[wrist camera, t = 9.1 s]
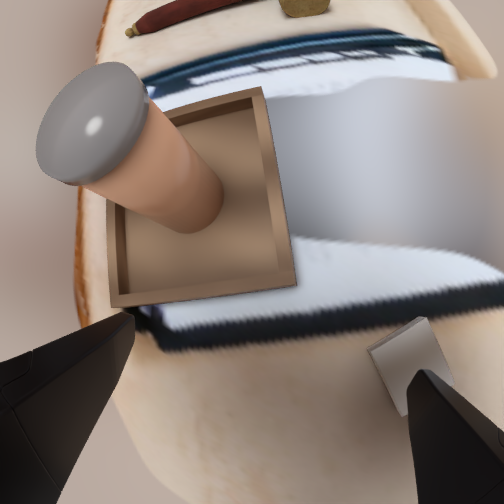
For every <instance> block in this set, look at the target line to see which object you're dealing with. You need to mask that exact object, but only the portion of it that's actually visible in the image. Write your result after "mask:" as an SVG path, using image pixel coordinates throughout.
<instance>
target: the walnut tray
mask: <svg viewBox="0 0 504 504" xmlns="http://www.w3.org/2000/svg"><path fill="white" fill-rule="evenodd" d="M163 113H164V115H165V116H166V117H167V118H168V119H169V120H170V121H171V123H172V124H173V125H174V126H175V127H176V128H177V129H178V131H179V132H180V133H181V134H182V135H183V136H184V137H185V139H186V140H187V141H188V142H189V143H190V144H191V146H192V147H193V148H194V149H195V150H196V151H197V153H198V154H199V155H200V156H201V157H202V158H203V159H204V161H205V162H206V163H207V164H208V165H209V166H210V168H211V169H212V170H213V171H214V172H215V174H216V175H217V176H218V177H219V179H220V181H221V183H222V185H223V190H224V200H223V205H222V208H221V210H220V212H219V214H218V216H217V217H216V219H215V220H214V221H213V222H212V223H211V224H210V225H209V226H207V227H206V228H204V229H203V230H201V231H198V232H195V233H190V234H183V233H178V232H175V231H173V230H171V229H169V228H167V227H165V226H163V225H161V224H159V223H156V222H154V221H152V220H150V219H148V218H146V217H144V216H142V215H140V214H138V213H136V212H134V211H132V210H129V209H127V208H125V207H123V206H121V205H119V204H117V203H115V202H113V201H111V200H109V199H107V198H106V229H107V259H108V276H109V290H110V302H111V308H128V307H138V306H147V305H156V304H165V303H173V302H181V301H190V300H198V299H206V298H213V297H221V296H228V295H236V294H243V293H250V292H257V291H264V290H271V289H278V288H285V287H291V286H297V282H296V275H295V268H294V262H293V255H292V248H291V242H290V236H289V229H288V223H287V217H286V212H285V205H284V199H283V193H282V187H281V181H280V176H279V170H278V164H277V159H276V153H275V148H274V142H273V137H272V132H271V127H270V122H269V116H268V112H267V106H266V101H265V98H264V94H263V91H262V88H261V86H260V87H256V88H251V89H246V90H242V91H238V92H233V93H229V94H225V95H221V96H217V97H213V98H210V99H206V100H202V101H199V102H195V103H192V104H188V105H185V106H181V107H178V108H175V109H172V110H168V111H165V112H163Z"/></svg>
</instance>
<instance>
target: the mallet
mask: <svg viewBox="0 0 504 504" xmlns="http://www.w3.org/2000/svg"><path fill="white" fill-rule="evenodd" d="M367 349H368V351H369V353H370V355H371V357H372V359H373V361H374V363H375V365H376V368H377V370H378V372H379V374H380V376H381V378H382V380H383V382H384V384H385V386H386V388H387V390H388V392H389V394H390V396H391V399H392V401H393V403H394V405H395V407H396V409H397V411H398V412H399V414H400V415H401V416H402V417H404V416H406V415H407V414H408V408H407V396H406V391H407V387H408V385H409V384H410V382H411V380H412V379H413V377H414V376H415V374H416V372H417V371H418V370H419V369H429V370H431V371H433V372H434V373H435V374H436V375H437V376H439V377H440V378H441V379H442V380H443V381H445V382H446V383H447V384H448V385H449V386H453V385H454V384H455V382H454V379H453V377H452V374H451V372H450V369H449V367H448V364H447V362H446V360H445V357H444V355H443V353H442V350H441V348H440V346H439V344H438V341H437V339H436V337H435V335H434V333H433V330H432V328H431V326H430V324H429V322H428V320H427V318H426V317H420V316H419V317H417V318H415V319H414V320H412V321H411V322H409V323H408V324H406V325H404V326H403V327H401V328H400V329H398V330H396V331H395V332H393V333H391V334H390V335H388V336H387V337H385V338H383V339H381V340H380V341H378V342H376V343H375V344H373V345H371V346H369V347H368V348H367Z"/></svg>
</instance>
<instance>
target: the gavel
mask: <svg viewBox="0 0 504 504" xmlns="http://www.w3.org/2000/svg"><path fill="white" fill-rule="evenodd" d="M239 1H242V0H176V1H173V2H171V3H168V4H166V5H163V6H161V7H159V8H157V9H154V10H152V11H150V12H148V13H146V14H145V15H144V16H142V17H141V18H140V19H139V20H138V21H137V22H136V23H134V24H133V25H132V28H128V29H127V30H126V31H125V34H126V36H132V35H133V34H134V33H135V34H137V35H139V34H142V33H149V32H155V31H157V30H160V29H162V28H164V27H167V26H169V25H172V24H174V23H177V22H179V21H182V20H185V19H187V18H190V17H193V16H195V15H198V14H201V13H204V12H207V11H210V10H213V9H216V8H219V7H222V6H225V5H228V4H232V3H235V2H239ZM279 2H280V5H281V7H282V9H283V11H284V12H285V13H286V14H288V15H290V16H292V17H307V16H314V15H318V14H321V13H322V12H324V11H325V10H326V9H327V7H328V5H329V3H330V0H279Z"/></svg>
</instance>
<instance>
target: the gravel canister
mask: <svg viewBox="0 0 504 504" xmlns="http://www.w3.org/2000/svg"><path fill="white" fill-rule="evenodd" d="M36 157H37V161H38V164H39V166H40V168H41V169H42V171H43V172H45V174H47V175H48V176H50V177H52V178H54V179H57V180H59V181H61V182H63V183H65V184H68V185H72V186H82V187H84V188H86V189H88V190H90V191H92V192H94V193H96V194H99V195H101V196H103V197H105V198H107V199H109V200H111V201H113V202H115V203H117V204H119V205H121V206H123V207H125V208H127V209H129V210H132V211H134V212H136V213H138V214H140V215H142V216H144V217H146V218H148V219H150V220H152V221H154V222H156V223H159V224H161V225H163V226H165V227H167V228H169V229H171V230H173V231H175V232H178V233H183V234H190V233H195V232H198V231H201V230H203V229H204V228H206V227H207V226H209V225H210V224H211V223H212V222H213V221H214V220H215V219H216V217H217V216H218V214H219V212H220V210H221V208H222V205H223V200H224V190H223V185H222V183H221V181H220V179H219V177H218V176H217V175H216V174H215V172H214V171H213V170H212V169H211V168H210V166H209V165H208V164H207V163H206V162H205V161H204V159H203V158H202V157H201V156H200V155H199V154H198V153H197V151H196V150H195V149H194V148H193V147H192V146H191V144H190V143H189V142H188V141H187V140H186V139H185V137H184V136H183V135H182V134H181V133H180V132H179V131H178V129H177V128H176V127H175V126H174V125H173V124H172V123H171V121H170V120H169V119H168V118H167V117H166V116H165V115H164V113H163V112H162V111H161V110H160V109H159V108H158V107H157V105H156V104H155V103H154V102H153V101H152V100H151V99H150V98H149V96H148V91H147V89H146V87H145V85H144V84H143V82H142V81H141V80H140V79H139V78H138V77H137V75H136V74H135V73H134V72H133V71H132V70H131V69H130V68H129V67H128V66H127V65H125V64H123V63H119V62H106V63H101V64H98V65H95V66H93V67H91V68H89V69H87V70H85V71H83V72H82V73H81V74H79V75H78V76H76V77H75V78H74V79H73V80H71V81H70V82H69V83H68V84H67V85H66V86H65V87H64V88H63V89H62V90H61V91H60V92H59V94H58V95H57V96H56V98H55V99H54V100H53V102H52V103H51V105H50V106H49V108H48V110H47V112H46V113H45V115H44V118H43V120H42V122H41V125H40V128H39V131H38V135H37V141H36Z"/></svg>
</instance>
